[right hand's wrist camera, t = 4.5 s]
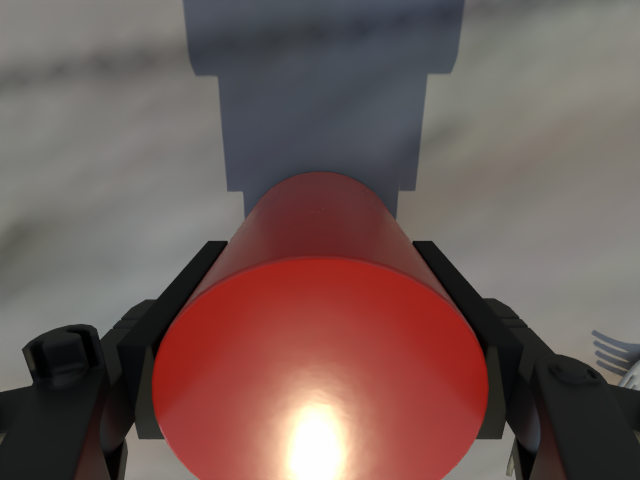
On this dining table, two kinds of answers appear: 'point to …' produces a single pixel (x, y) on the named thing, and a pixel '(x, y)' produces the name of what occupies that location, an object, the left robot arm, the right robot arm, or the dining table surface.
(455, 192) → the dining table surface
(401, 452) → the tin
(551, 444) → the right robot arm
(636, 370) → the fork
